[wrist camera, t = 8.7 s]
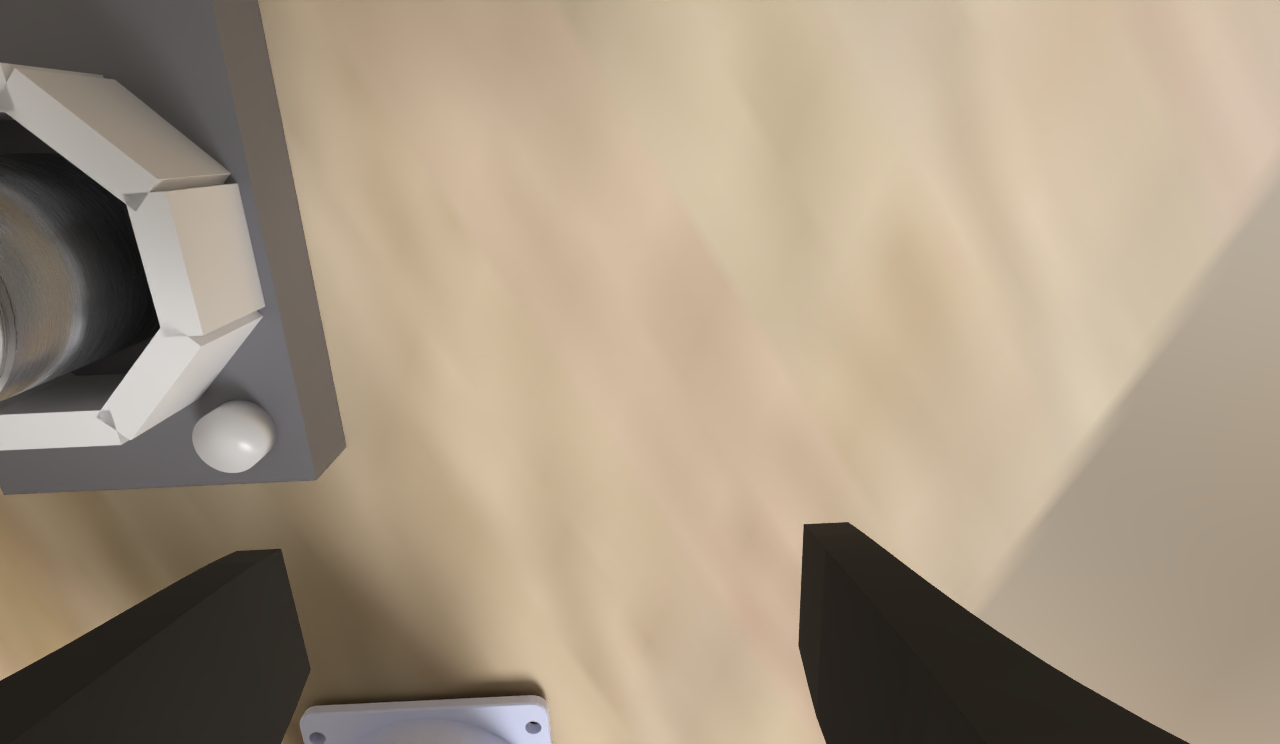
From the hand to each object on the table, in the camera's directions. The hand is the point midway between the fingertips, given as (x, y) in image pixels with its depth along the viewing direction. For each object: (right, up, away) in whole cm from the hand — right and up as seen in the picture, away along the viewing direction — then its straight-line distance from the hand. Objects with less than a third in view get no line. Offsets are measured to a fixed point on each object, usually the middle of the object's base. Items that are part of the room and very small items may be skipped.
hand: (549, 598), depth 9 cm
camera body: (-11, +6, +8) cm, 15 cm away
